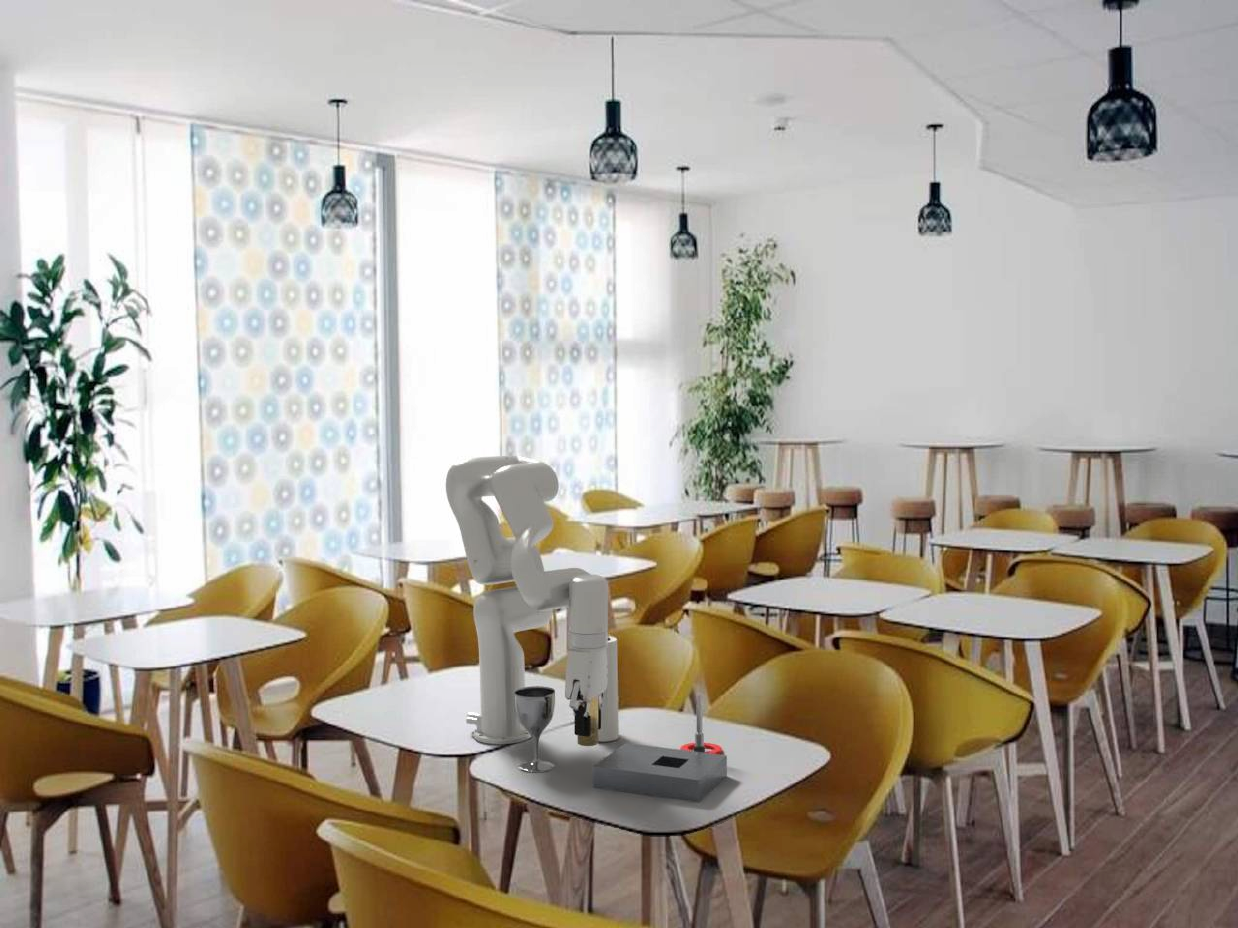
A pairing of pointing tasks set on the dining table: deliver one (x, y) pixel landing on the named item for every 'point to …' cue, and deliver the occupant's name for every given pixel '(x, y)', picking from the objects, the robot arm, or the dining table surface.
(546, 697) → the wine glass
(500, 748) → the dining table surface
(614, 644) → the paper towel roll
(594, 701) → the brass pin
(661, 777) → the grey block with hole
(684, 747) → the tow hook
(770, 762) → the dining table surface
